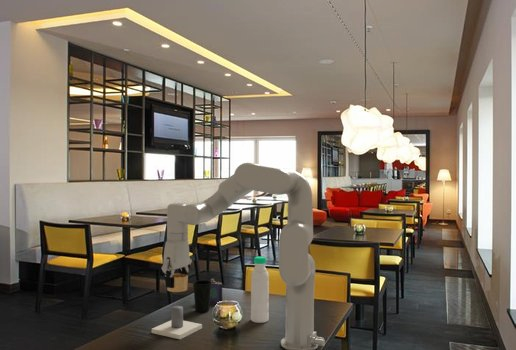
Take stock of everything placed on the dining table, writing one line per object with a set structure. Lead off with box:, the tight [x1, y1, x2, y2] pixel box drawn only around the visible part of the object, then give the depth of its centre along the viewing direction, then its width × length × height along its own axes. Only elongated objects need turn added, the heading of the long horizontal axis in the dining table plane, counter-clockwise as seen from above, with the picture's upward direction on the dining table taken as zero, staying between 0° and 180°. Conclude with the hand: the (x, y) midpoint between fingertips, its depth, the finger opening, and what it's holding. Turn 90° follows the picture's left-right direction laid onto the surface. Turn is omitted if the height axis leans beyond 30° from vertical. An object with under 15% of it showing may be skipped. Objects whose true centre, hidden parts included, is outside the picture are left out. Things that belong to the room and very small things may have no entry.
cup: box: [192, 279, 211, 314], centre depth 193 cm, size 8×8×12 cm
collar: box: [166, 273, 189, 293], centre depth 168 cm, size 7×7×5 cm
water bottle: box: [250, 256, 270, 324], centre depth 180 cm, size 7×7×25 cm
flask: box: [210, 278, 223, 305], centre depth 205 cm, size 9×3×11 cm, turn 76°
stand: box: [151, 305, 203, 340], centre depth 169 cm, size 13×13×8 cm
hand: (177, 284), depth 169 cm, fingers closed on collar, 7 cm apart
